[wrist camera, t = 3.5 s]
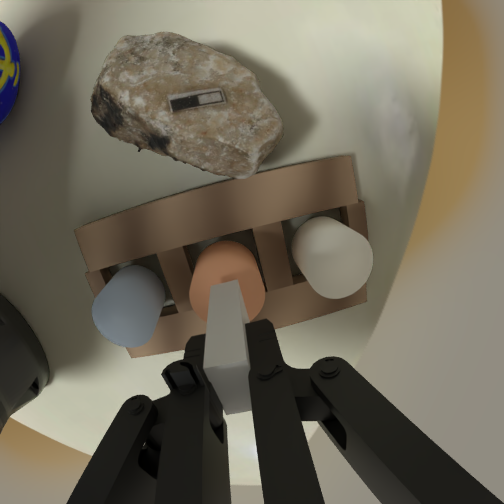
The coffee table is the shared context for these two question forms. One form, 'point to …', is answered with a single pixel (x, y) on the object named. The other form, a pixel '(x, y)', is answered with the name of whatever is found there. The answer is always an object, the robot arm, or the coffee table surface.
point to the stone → (186, 104)
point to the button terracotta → (226, 276)
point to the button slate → (129, 306)
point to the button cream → (332, 257)
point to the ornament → (8, 71)
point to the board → (222, 223)
